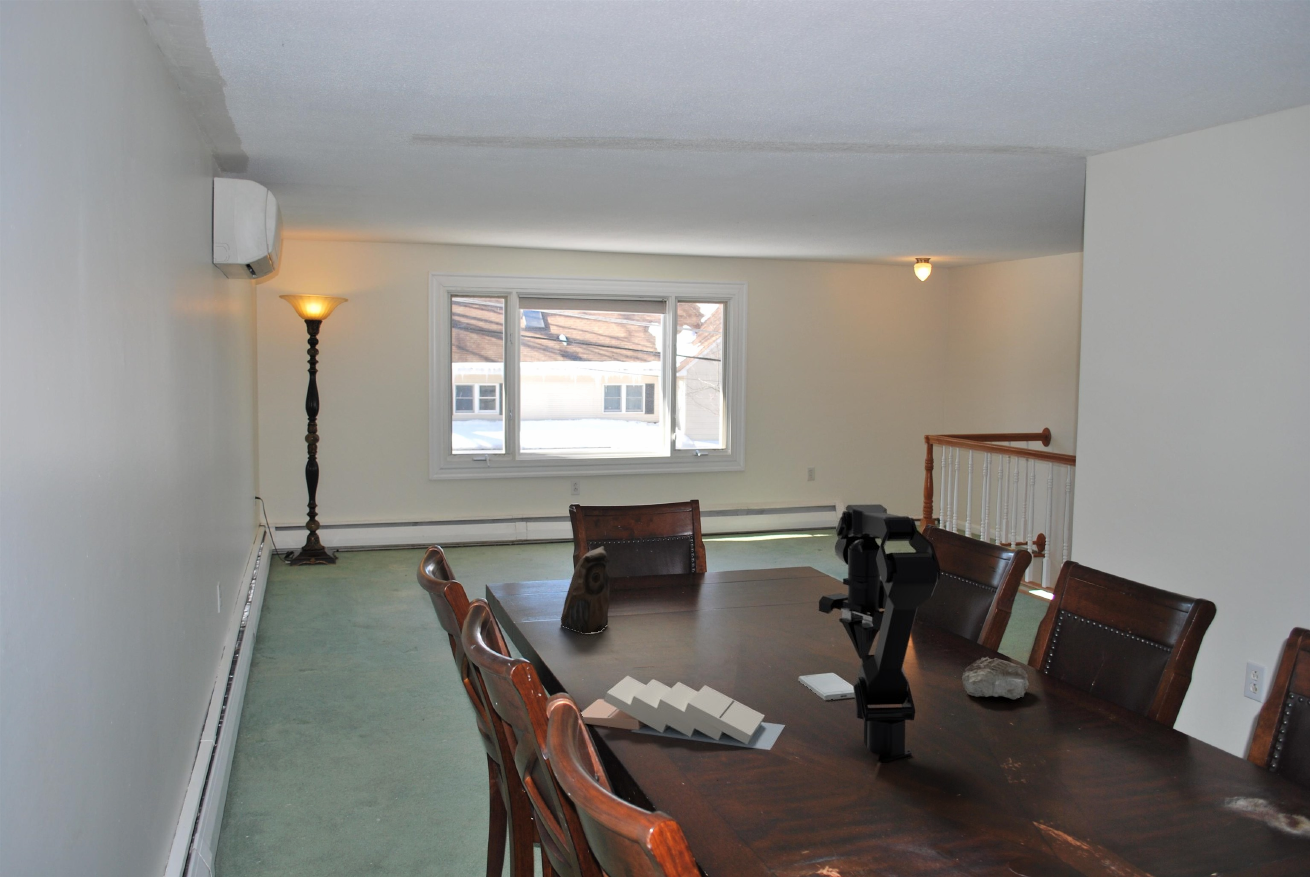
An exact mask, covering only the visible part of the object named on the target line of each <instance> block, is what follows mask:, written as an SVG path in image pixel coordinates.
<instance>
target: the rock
mask: <svg viewBox="0 0 1310 877" xmlns="http://www.w3.org/2000/svg"><path fill="white" fill-rule="evenodd" d="M1028 677H1029V676H1028V673H1027V672H1026V671H1025V670H1024V669H1023V668H1022V666H1021V665H1017V664H1015V663H1012V662H1010V661H1006V660H1002V659H1000V658H997V657H995V658H994V659H993V658H992V659H991V658H989V656H986V657H983V656H982V657H981V658H980V659H976V660H975V661H973V663H971V664H970V665H969V666H967V667H966V668H965V670H964V671H963V673H962V678H961V679H962V681H961V682H962V686H963V689H964V690H965V691H966V693H967V694H968V695H970V696H973V697H976V698H979V697H986V698H987V697H995V698H998V697H1004V698H1007V699H1010V700H1017V699H1019V698H1020V697H1022V698H1023V697H1025V694H1026V691H1027V689H1028V688H1029V685H1030V682H1029V681H1028ZM1020 699H1021V698H1020Z"/></svg>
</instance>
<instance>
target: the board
mask: <svg viewBox="0 0 1310 877" xmlns="http://www.w3.org/2000/svg"><path fill="white" fill-rule="evenodd" d="M785 727H786V724H779V723H771V722H764V721H762V723H761V725H760V726H759V728H758V729H757V731H756V732H755V734H754V735H753V737H752V738H751V740H750V741H749V742H748V744H745V743H743V742H741V741H739V740H738V739H736V738H734V737H732V736H730V735H728V734H726V733H723V735H722V736H721V737H720V739H719V740H716V739H714V738H712V737H710V736H708V735H706V734H705V733H703V732H701V731H699V730H696V731H695V732H694V733H693V735H692V736H691V737H689V736H688V735H686V734H684V733H682V732H680V731H678V730H676V729H675V728H673V727H671V726H668V727H667V729H666V730H665V731H664V732H663V733H662V732H660V731H658V730H656V729H654V728H653V727H651V726H649V725H647V724H644V725H643V726H642V727H641V728H640V729H639V730H635V729H631V732H632V733H638V734H639V733H640V734H645V735H653V736H654V735H655V736H660V737H667V738H676V739H681V740H683V739H684V740H689V741H691V740H692V741H698V742H699V741H700V742H706V743H714V744H722V745H729V746H736V747H744V748H751V749H752V748H753V749H759V750H767V751H771V749H772V748H773V746H774V745H775V743H776V741H777V740H778V738H779V736H780V735H781V733H782V732H783V730H784V728H785Z"/></svg>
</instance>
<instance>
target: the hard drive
mask: <svg viewBox="0 0 1310 877" xmlns="http://www.w3.org/2000/svg"><path fill="white" fill-rule="evenodd" d="M797 679H798V682H799V681H800V683H801V684H802V685H803V684H804V686H805V687H806V686H807V687H808V688H807V687H806V688H807V689H808V690H810V689H811V690H812V691H811V690H810V691H811V692H813V693H814V694H815V693H816V694H815V695H817V696H818V697H819V698H821V699H822V700H824V701H832V700H831V699H833V700H841V699H851V698H855V695H854V689H853V686H854V685H852V684H851V683H849V682H848V681H846V680H844V678H842V677H840V676H839V675H837V674H836V673H834V672H827V673H819V674H818V673H817V674H807V675H801V676H798V678H797Z"/></svg>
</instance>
